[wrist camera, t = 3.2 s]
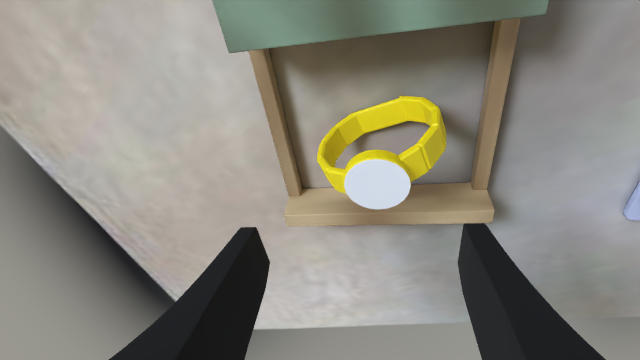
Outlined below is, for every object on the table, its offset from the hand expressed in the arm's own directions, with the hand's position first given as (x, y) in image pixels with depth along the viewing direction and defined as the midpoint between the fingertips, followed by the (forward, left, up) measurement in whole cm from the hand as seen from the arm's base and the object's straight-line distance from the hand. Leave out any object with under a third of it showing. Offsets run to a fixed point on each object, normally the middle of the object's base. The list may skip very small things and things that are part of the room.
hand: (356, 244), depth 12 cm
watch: (-1, 0, -9) cm, 9 cm away
